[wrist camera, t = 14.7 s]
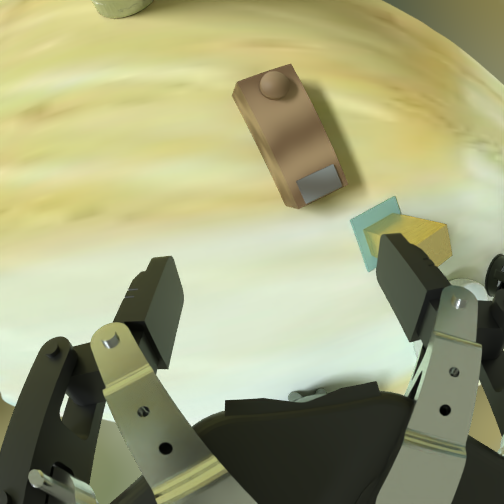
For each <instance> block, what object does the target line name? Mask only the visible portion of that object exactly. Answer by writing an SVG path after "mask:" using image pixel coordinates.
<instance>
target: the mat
mask: <svg viewBox="0 0 504 504" xmlns="http://www.w3.org/2000/svg"><path fill="white" fill-rule="evenodd" d="M391 213H396V214H401V213H400V210H399V207H398V204H397V201H396V197H395V196H393V197H391V198H390V199H388V200H386V201H384V202H382V203H380V204H379V205H377V206H375V207H373V208H371V209H369V210H368V211H366V212H364V213H362V214H360V215H358V216H357V217H355V218H353V219H351V220H350V222H351V225H352V227H353V230H354V233H355V236H356V238H357V241H358V244H359V247H360V250H361V253H362V256H363V259H364V262H365V265H366V268H367V271H368V272H370V271H371V270H373V269H374V268H376V266H377V259H378V258H376V257H374V256H371V253H370V250H369V247H368V244H367V241H366V238H365V235H364V232H363V229H365V228H367V227H369V226H370V225H372V224H374V223H376V222H377V221H379V220H381V219H383V218H384V217H386V216H388V215H390V214H391Z"/></svg>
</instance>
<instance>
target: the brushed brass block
mask: <svg viewBox="0 0 504 504" xmlns="http://www.w3.org/2000/svg"><path fill="white" fill-rule="evenodd" d="M363 232H364V235H365V238H366V241H367V244H368V247H369V250H370V253H371V256H374V257H376V258H378V251H379V243H380V237H381V235H382V234H390V233H401V234H402V235H403V236H404V237H405V238H406V239H407V241H408V242H409V243H410V244H414V245H416V246H417V247H419V248H421V249H422V250H423V251H424V252H425V253H426V254H427V255H428V257H429V259H431V260H432V261H433V262H434V264H435V266H437V267H438V266H439V265H441V264H442V263H443V262H445V261H446V260H447V259H448V258H450V257H451V256H452V250H451V245H450V239H449V234H448V229H447V224H443V223H438V222H434V221H429V220H425V219H420V218H415V217H411V216H406V215H401V214H396V213H391V214H390V215H388V216H386V217H384V218H383V219H381V220H379V221H377V222H376V223H374V224H372V225H370V226H369V227H367V228H365V229H363Z"/></svg>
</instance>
